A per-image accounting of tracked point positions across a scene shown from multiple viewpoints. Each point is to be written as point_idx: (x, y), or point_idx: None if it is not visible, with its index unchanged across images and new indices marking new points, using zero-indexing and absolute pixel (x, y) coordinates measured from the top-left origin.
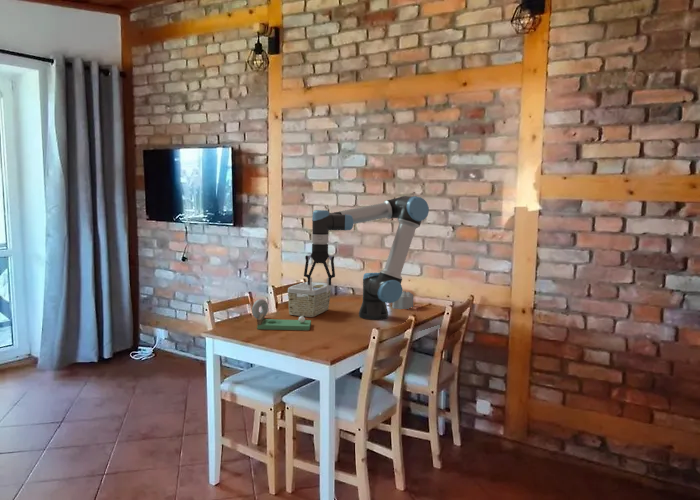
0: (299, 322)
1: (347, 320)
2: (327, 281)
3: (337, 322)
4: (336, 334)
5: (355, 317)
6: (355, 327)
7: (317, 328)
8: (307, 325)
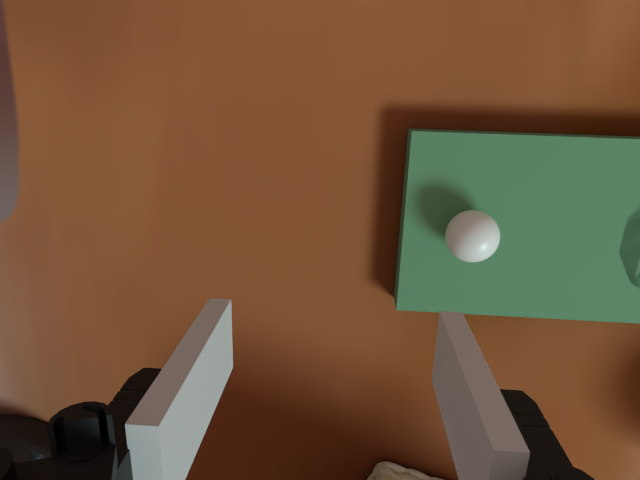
0: None
1: None
2: (168, 392)
3: None
4: (210, 22)
5: None
6: (99, 230)
7: (349, 190)
8: (425, 153)
